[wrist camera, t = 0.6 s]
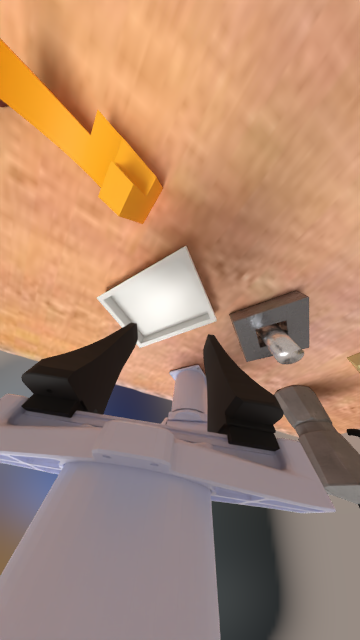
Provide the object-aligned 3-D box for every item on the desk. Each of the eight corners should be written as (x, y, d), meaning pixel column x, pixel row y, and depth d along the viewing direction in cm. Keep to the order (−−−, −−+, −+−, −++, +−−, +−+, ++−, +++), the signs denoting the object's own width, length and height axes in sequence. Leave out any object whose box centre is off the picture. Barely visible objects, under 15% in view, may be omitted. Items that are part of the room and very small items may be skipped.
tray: (214, 313, 22) (216, 320, 20) (144, 339, 27) (139, 347, 25) (186, 245, 17) (185, 245, 15) (105, 292, 22) (96, 297, 20)
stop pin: (275, 330, 23) (304, 360, 17) (257, 335, 24) (277, 366, 18) (273, 316, 22) (303, 344, 16) (253, 322, 23) (274, 351, 17)
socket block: (298, 337, 23) (309, 347, 21) (242, 352, 27) (246, 361, 24) (295, 290, 19) (308, 296, 17) (229, 314, 22) (233, 322, 20)
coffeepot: (267, 406, 37) (318, 522, 22) (261, 389, 33) (320, 517, 18) (333, 399, 32) (457, 539, 17) (337, 377, 28) (505, 538, 13)
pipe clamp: (163, 189, 15) (145, 158, 9) (143, 224, 17) (118, 216, 11) (56, 64, 11) (-78, -108, 6) (46, 127, 13) (-60, 46, 8)
